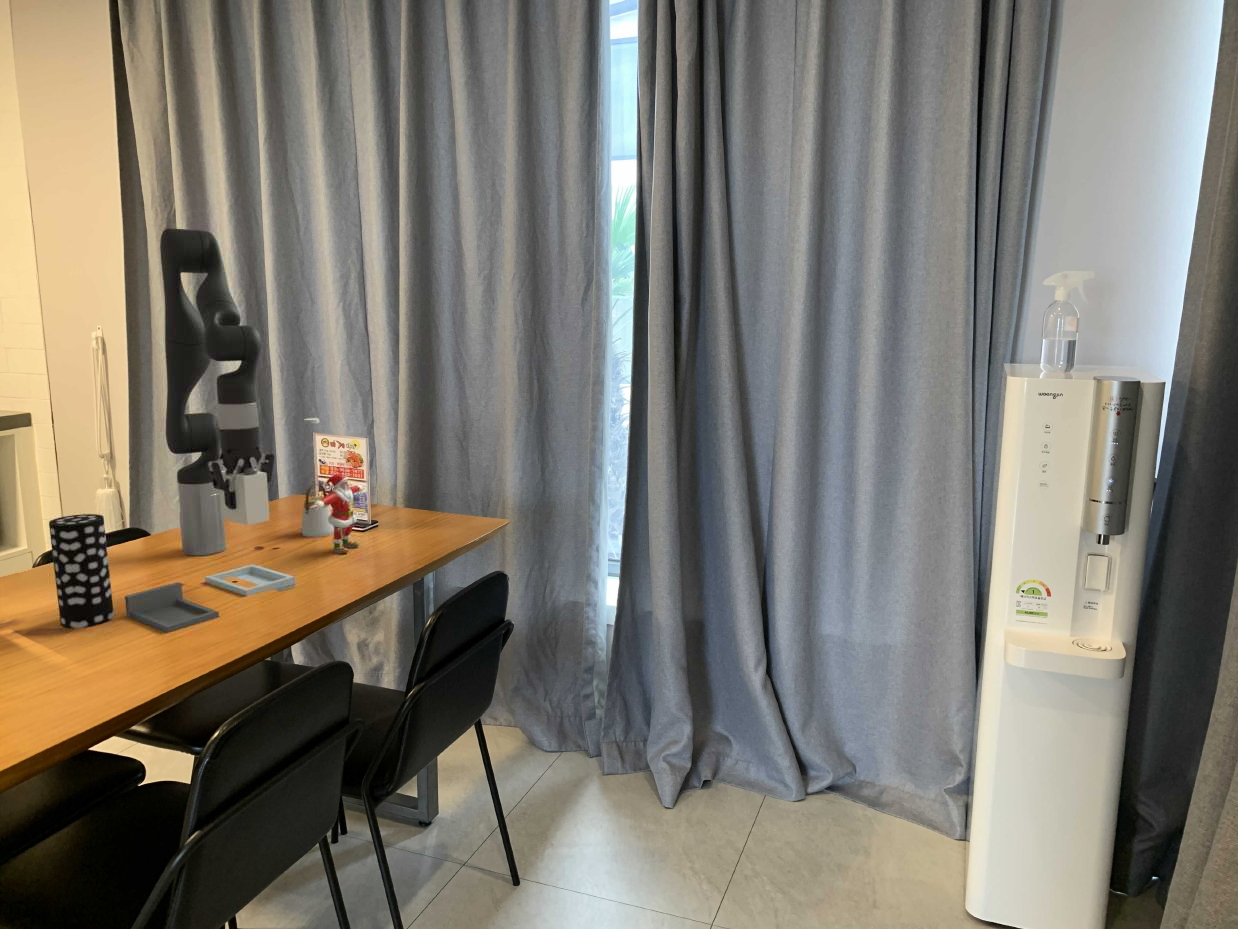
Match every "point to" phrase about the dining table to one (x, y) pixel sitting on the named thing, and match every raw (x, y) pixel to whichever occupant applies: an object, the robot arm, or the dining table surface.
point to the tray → (253, 580)
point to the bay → (166, 608)
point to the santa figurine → (340, 511)
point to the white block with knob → (248, 498)
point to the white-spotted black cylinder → (81, 570)
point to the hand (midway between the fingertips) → (244, 505)
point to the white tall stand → (315, 519)
